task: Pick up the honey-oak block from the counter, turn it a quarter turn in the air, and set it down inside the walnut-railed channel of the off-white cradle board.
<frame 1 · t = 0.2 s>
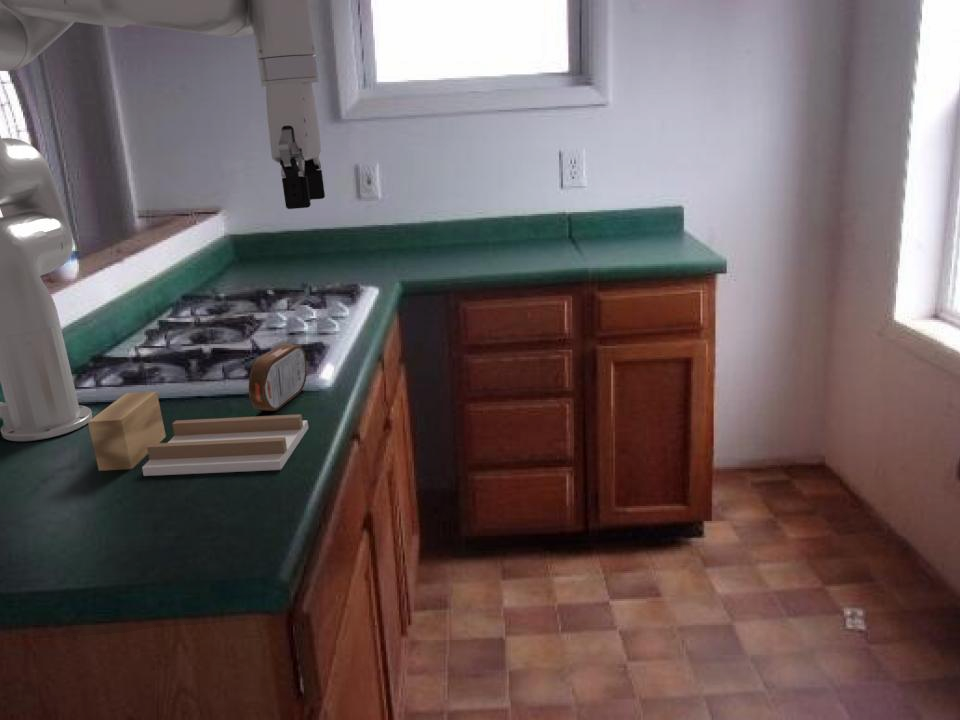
hand: (306, 203, 118), 31 cm above the worktop, tool pointing down, fingers open, 9 cm apart
tin: (283, 403, 134), on the worktop
cradle: (230, 450, 116), on the worktop
oak block: (133, 453, 118), on the worktop
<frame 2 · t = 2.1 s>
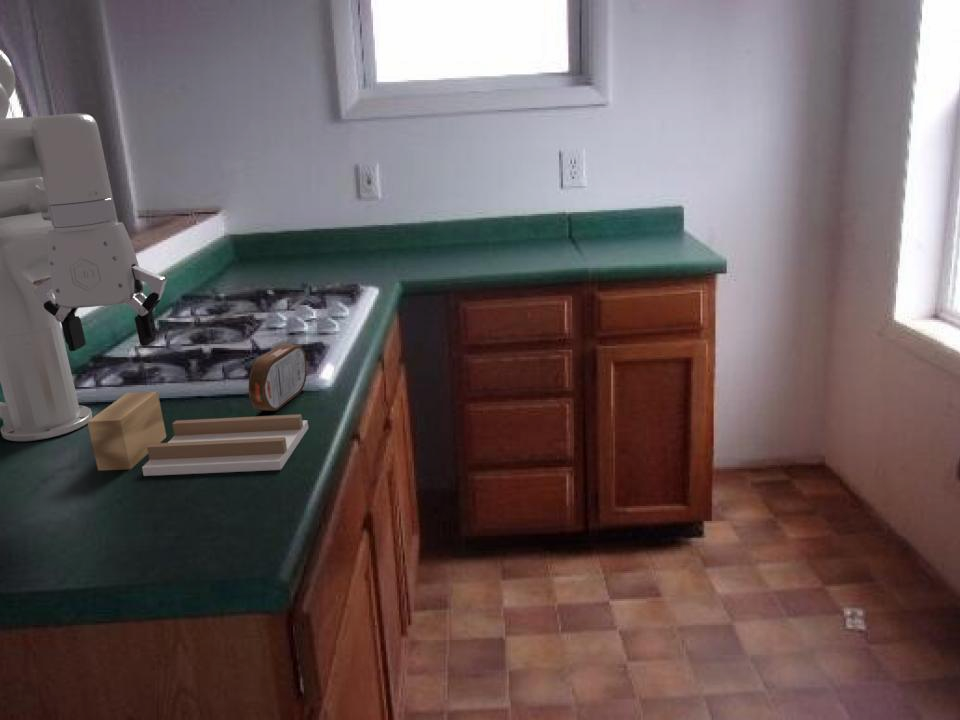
hand: (113, 345, 114), 15 cm above the worktop, tool pointing down, fingers open, 9 cm apart
nothing on the worktop moved.
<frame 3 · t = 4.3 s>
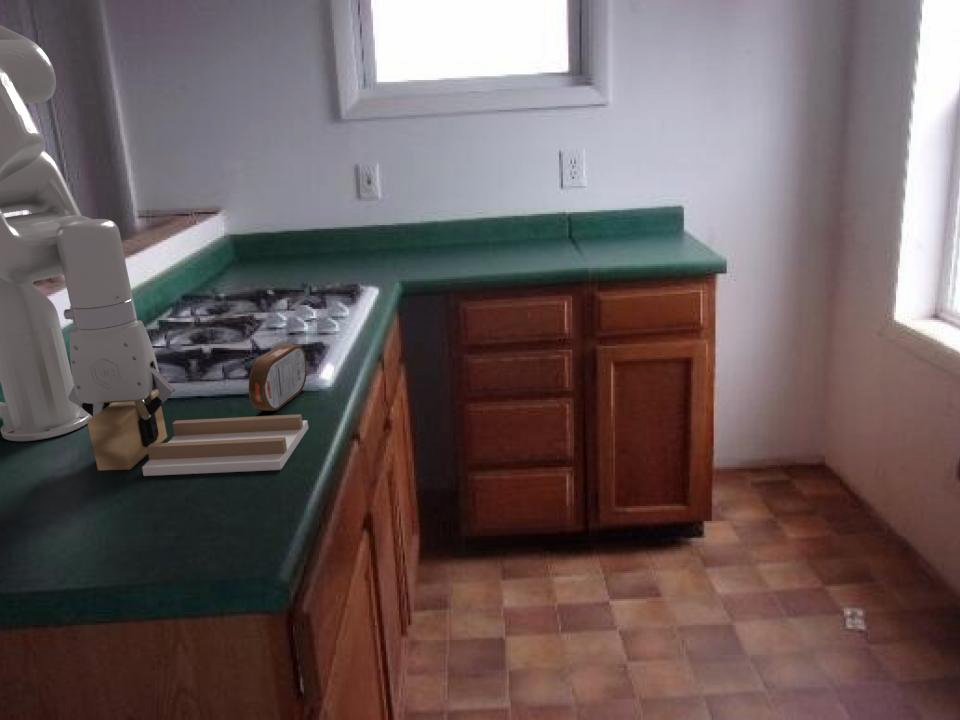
hand: (132, 443, 118), 1 cm above the worktop, tool pointing down, fingers closed on oak block, 4 cm apart
oak block: (134, 452, 118), on the worktop, touching gripper
everything else where it was.
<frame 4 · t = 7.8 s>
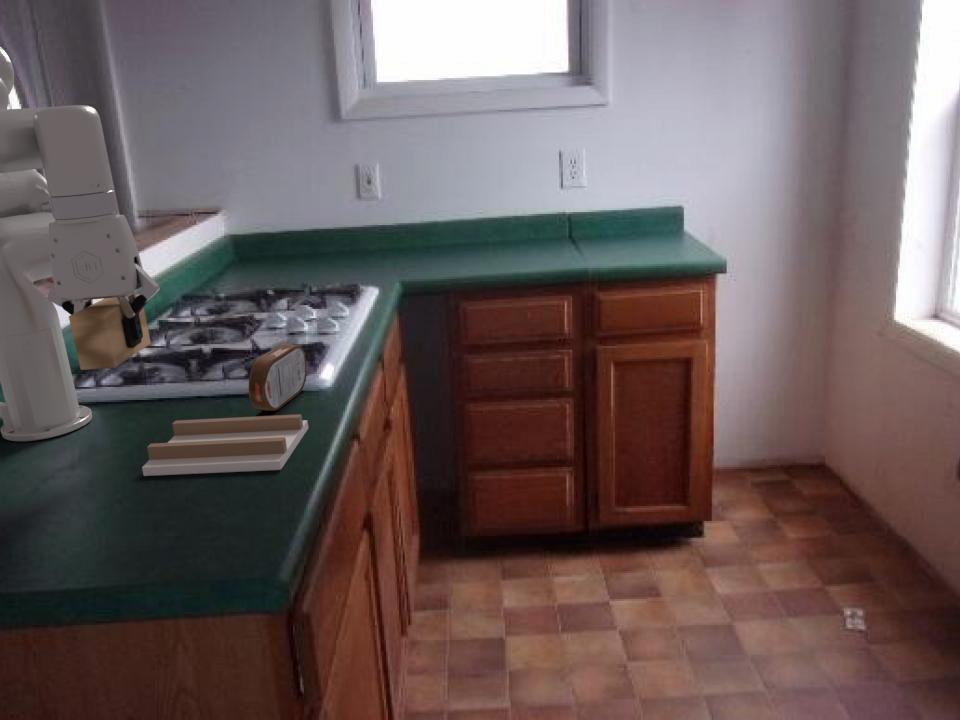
hand: (115, 345, 114), 15 cm above the worktop, tool pointing down, fingers closed on oak block, 4 cm apart
oak block: (117, 355, 114), point 14 cm above the worktop, touching gripper
everything else where it was.
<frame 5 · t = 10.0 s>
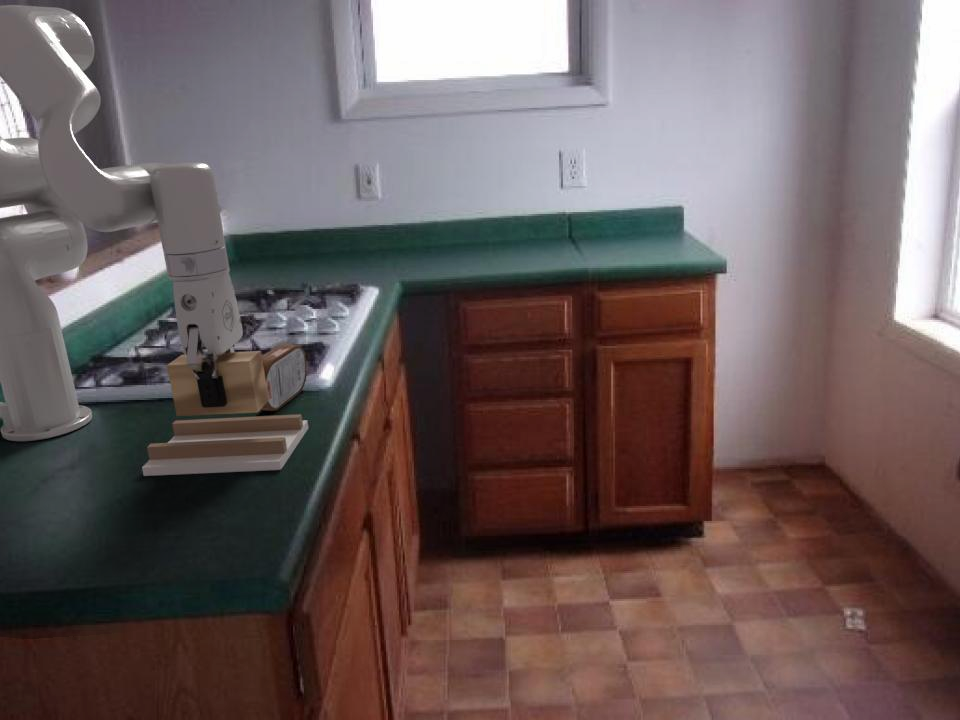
hand: (221, 397, 114), 8 cm above the worktop, tool pointing down, fingers closed on oak block, 4 cm apart
oak block: (223, 408, 114), point 6 cm above the worktop, touching gripper
everything else where it was.
when the fingers open (4 cm above the worktop, at t = 11.6 s): oak block stays where it is, resting on cradle.
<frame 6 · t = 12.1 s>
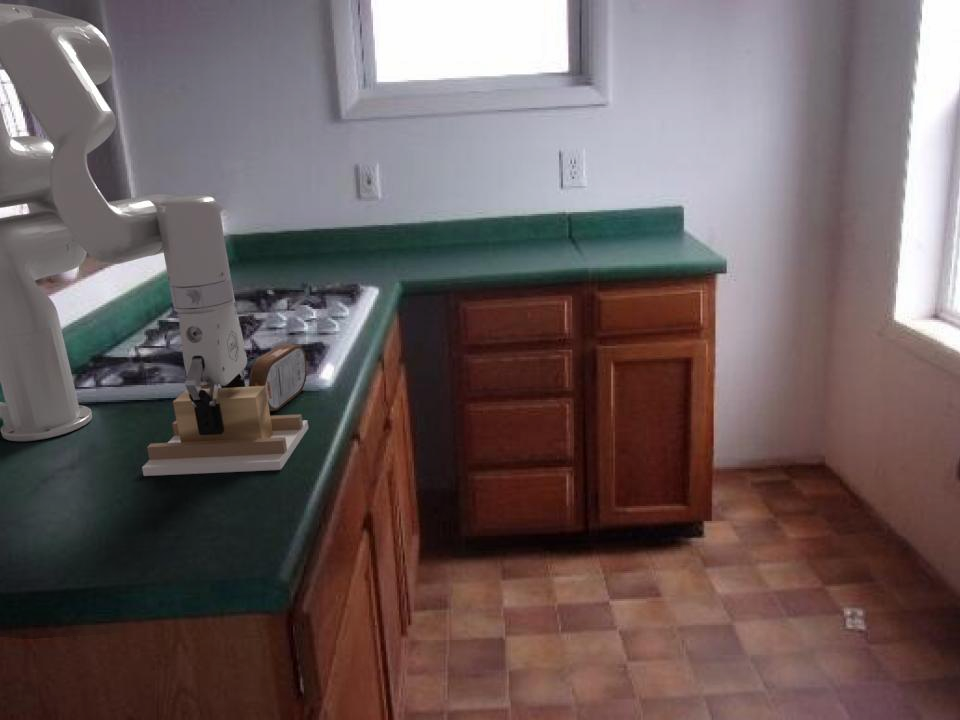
hand: (224, 420, 115), 4 cm above the worktop, tool pointing down, fingers open, 9 cm apart
oak block: (228, 442, 116), point 1 cm above the worktop, touching cradle
everything else where it was.
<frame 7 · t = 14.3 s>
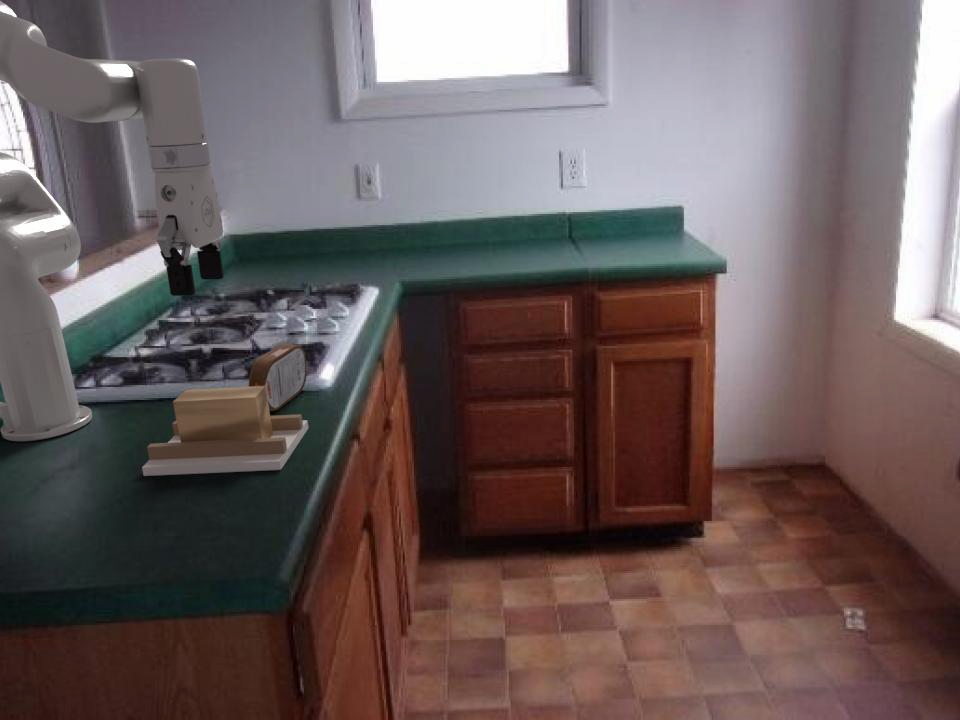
hand: (198, 286, 118), 21 cm above the worktop, tool pointing down, fingers open, 9 cm apart
nothing on the worktop moved.
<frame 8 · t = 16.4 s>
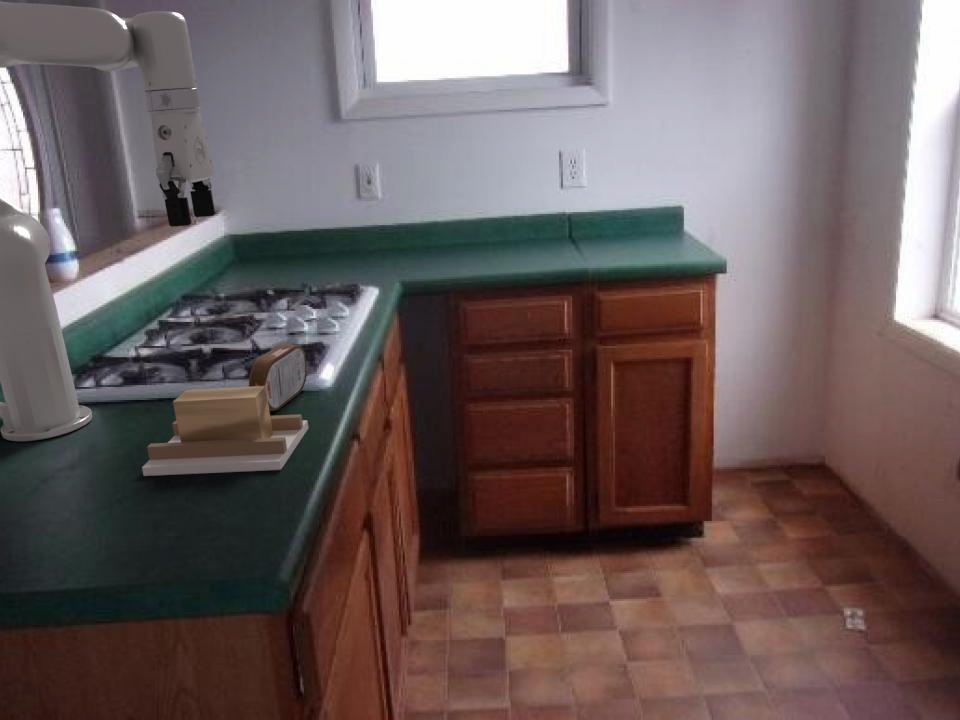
hand: (193, 220, 131), 28 cm above the worktop, tool pointing down, fingers open, 9 cm apart
nothing on the worktop moved.
at the end: oak block inside the target area on the cradle (0.1 cm from its centre), point 1.2 cm above the cradle's base; oak block tilted 0°; the gripper is holding nothing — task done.
